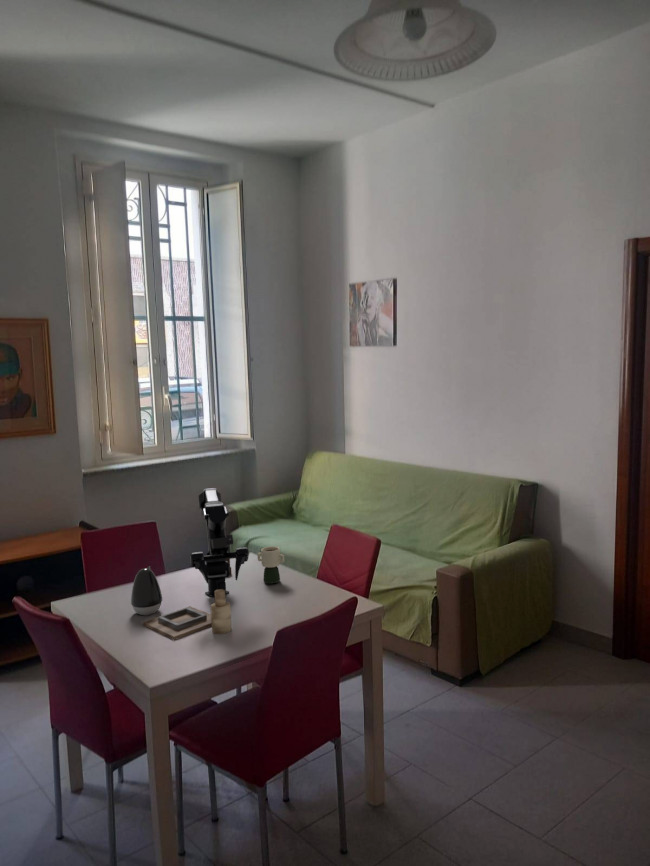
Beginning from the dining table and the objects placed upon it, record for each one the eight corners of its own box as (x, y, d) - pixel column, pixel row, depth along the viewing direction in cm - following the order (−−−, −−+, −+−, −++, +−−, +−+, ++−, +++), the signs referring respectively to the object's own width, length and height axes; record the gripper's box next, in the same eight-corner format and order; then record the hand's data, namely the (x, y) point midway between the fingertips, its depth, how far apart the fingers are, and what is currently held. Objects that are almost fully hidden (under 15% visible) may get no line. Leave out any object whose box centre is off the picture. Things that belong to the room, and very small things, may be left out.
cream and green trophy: (288, 580, 251) (287, 547, 250) (281, 586, 245) (280, 552, 243) (262, 578, 255) (261, 545, 254) (254, 584, 248) (253, 550, 247)
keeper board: (143, 625, 212) (142, 617, 212) (190, 608, 225) (189, 601, 225) (174, 639, 200) (173, 631, 199) (222, 621, 212) (221, 614, 212)
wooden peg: (208, 630, 206) (206, 591, 205) (223, 624, 210) (221, 586, 209) (219, 635, 202) (217, 595, 200) (235, 629, 206) (233, 590, 205)
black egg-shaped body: (166, 606, 228) (163, 563, 227) (158, 617, 218) (155, 572, 216) (137, 606, 229) (134, 564, 227) (127, 618, 218) (124, 573, 217)
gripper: (189, 529, 212) (192, 574, 204) (246, 523, 217) (253, 567, 208) (189, 544, 221) (192, 588, 212) (244, 539, 226) (250, 581, 217)
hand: (222, 581), depth 212 cm, fingers open, 9 cm apart
